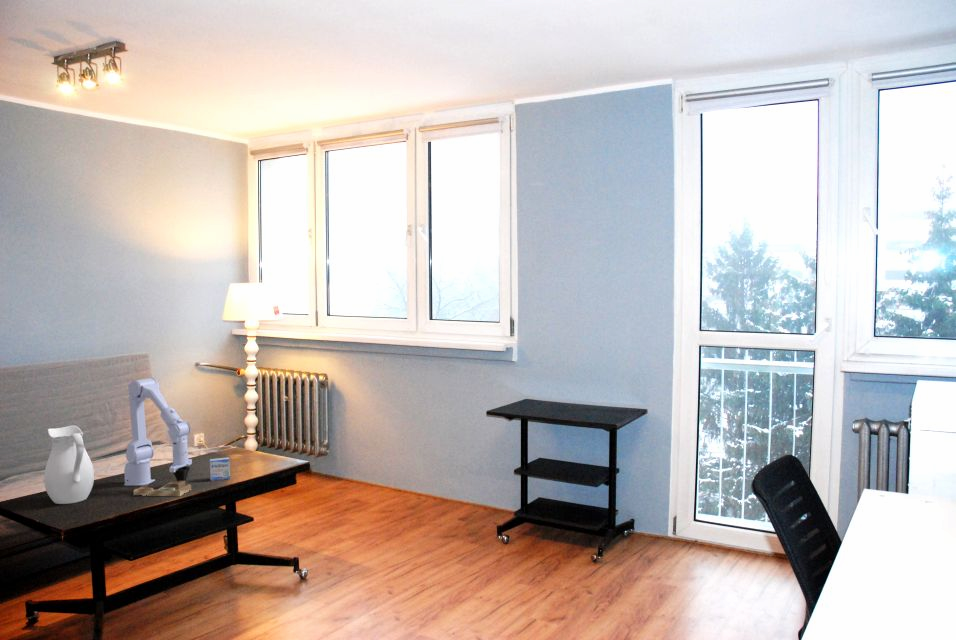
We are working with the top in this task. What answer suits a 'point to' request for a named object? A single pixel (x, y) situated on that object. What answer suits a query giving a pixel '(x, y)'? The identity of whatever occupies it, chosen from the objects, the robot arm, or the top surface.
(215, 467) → the medicine box
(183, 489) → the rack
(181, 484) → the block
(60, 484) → the pitcher
